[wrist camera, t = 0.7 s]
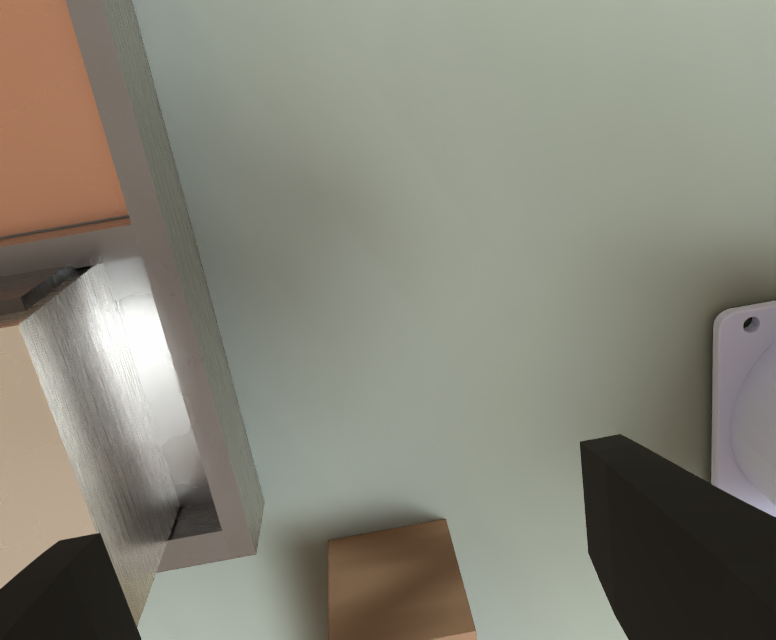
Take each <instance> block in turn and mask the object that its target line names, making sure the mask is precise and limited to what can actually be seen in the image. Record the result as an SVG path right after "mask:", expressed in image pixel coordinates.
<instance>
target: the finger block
mask: <svg viewBox="0 0 776 640" xmlns="http://www.w3.org/2000/svg"><path fill="white" fill-rule="evenodd" d="M328 574H329V640H477V635H476V629H475V626H474V622H473V618H472V614H471V611H470V607H469V603H468V600H467V596H466V592H465V588H464V585H463V581H462V577H461V574H460V570H459V566H458V562H457V559H456V555H455V551H454V548H453V544H452V540H451V536H450V533H449V529H448V525H447V521H446V519H442V520H437V521H431V522H426V523H420V524H415V525H409V526H404V527H398V528H393V529H387V530H382V531H376V532H370V533H365V534H359V535H354V536H348V537H343V538H337V539H332V540H328Z"/></svg>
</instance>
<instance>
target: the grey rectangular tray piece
mask: <svg viewBox="0 0 776 640" xmlns="http://www.w3.org/2000/svg"><path fill="white" fill-rule="evenodd" d="M263 509H264V500H263V496H262V492H261V488H260V484H259V481H258V477H257V473H256V469H255V466H254V462H253V458H252V454H251V450H250V447H249V443H248V439H247V435H246V431H245V428H244V424H243V420H242V416H241V413H240V409H239V405H238V401H237V397H236V394H235V390H234V386H233V382H232V379H231V375H230V371H229V367H228V363H227V360H226V356H225V352H224V348H223V345H222V341H221V337H220V333H219V329H218V326H217V322H216V318H215V314H214V310H213V307H212V303H211V299H210V295H209V292H208V288H207V284H206V280H205V276H204V273H203V269H202V265H201V261H200V258H199V254H198V250H197V246H196V242H195V239H194V235H193V231H192V227H191V223H190V220H189V216H188V212H187V208H186V205H185V201H184V197H183V193H182V189H181V186H180V182H179V178H178V174H177V171H176V167H175V163H174V159H173V155H172V152H171V148H170V144H169V140H168V136H167V133H166V129H165V125H164V121H163V118H162V114H161V110H160V106H159V102H158V99H157V95H156V91H155V87H154V84H153V80H152V76H151V72H150V68H149V65H148V61H147V57H146V53H145V49H144V46H143V42H142V38H141V34H140V31H139V27H138V23H137V19H136V15H135V12H134V8H133V4H132V0H0V589H1V588H2V587H3V586H4V585H5V584H7V583H8V582H9V581H10V580H11V579H12V578H13V577H15V576H16V575H17V574H18V573H19V572H20V571H22V570H23V569H24V568H25V567H26V566H27V565H29V564H30V563H31V562H32V561H33V560H35V559H36V558H37V557H38V556H40V555H41V554H42V553H43V552H45V551H46V550H47V549H49V548H50V547H51V546H53V545H54V544H55V543H57V542H58V541H59V540H64V539H70V538H75V537H80V536H85V535H91V534H96V533H101V536H102V538H103V541H104V544H105V546H106V549H107V551H108V554H109V557H110V559H111V562H112V564H113V567H114V569H115V572H116V575H117V577H118V580H119V582H120V585H121V588H122V590H123V593H124V595H125V598H126V601H127V603H128V606H129V608H130V611H131V614H132V616H133V619H134V621H135V624H136V627H137V626H138V623H139V620H140V617H141V614H142V612H143V609H144V606H145V603H146V600H147V598H148V595H149V592H150V589H151V586H152V583H153V581H154V578H155V575H156V573H157V572H163V571H168V570H174V569H179V568H185V567H190V566H195V565H201V564H206V563H212V562H217V561H223V560H228V559H234V558H239V557H244V556H250V555H255V554H256V553H257V547H258V540H259V534H260V528H261V521H262V515H263Z"/></svg>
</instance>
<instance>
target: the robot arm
mask: <svg viewBox="0 0 776 640" xmlns="http://www.w3.org/2000/svg"><path fill="white" fill-rule="evenodd" d="M750 317H752V322H751V324H750V325H749V326H748V327H746V328H743V325H744V322H745V321H746V320H747V319H748V318H750ZM580 450H581V463H582V476H583V489H584V502H585V514H586V527H587V540H588V553H589V556H590V558H591V560H592V563H593V565H594V568H595V570H596V572H597V575H598V577H599V580H600V582H601V584H602V587H603V589H604V591H605V594H606V596H607V598H608V600H609V603H610V605H611V607H612V610H613V612H614V614H615V616H616V618H617V620H618V621H619V623H620V625H621V627H622V629H623V630H624V632H625V634H626V636H627V637H628V639H629V640H776V300H775V301H770V302H764V303H758V304H753V305H747V306H742V307H736V308H730V309H727V310H725V311H723V312H721V313H720V314H719V315H718V316H717V318H716V319H715V321H714V326H713V386H712V460H711V484H710V483H708V482H706V481H705V480H703V479H701V478H699V477H697V476H695V475H694V474H692V473H690V472H688V471H686V470H685V469H683V468H681V467H679V466H678V465H676V464H674V463H672V462H670V461H669V460H667V459H665V458H663V457H661V456H660V455H658V454H656V453H654V452H653V451H651V450H649V449H647V448H645V447H644V446H642V445H640V444H638V443H636V442H634V441H633V440H631V439H629V438H627V437H625V436H623V435H621V434H619V435H613V436H608V437H603V438H598V439H592V440H587V441H582V442H580ZM0 640H141V637H140V634H139V632H138V629H137V627H136V624H135V621H134V619H133V616H132V614H131V611H130V608H129V606H128V603H127V601H126V598H125V595H124V593H123V590H122V588H121V585H120V582H119V580H118V577H117V575H116V572H115V569H114V567H113V564H112V562H111V559H110V557H109V554H108V551H107V549H106V546H105V544H104V541H103V538H102V536H101V533H96V534H91V535H85V536H80V537H75V538H70V539H64V540H59V541H58V542H57V543H55V544H54V545H53V546H51V547H50V548H49V549H47V550H46V551H45V552H43V553H42V554H41V555H40V556H38V557H37V558H36V559H35V560H33V561H32V562H31V563H30V564H29V565H27V566H26V567H25V568H24V569H23V570H22V571H20V572H19V573H18V574H17V575H16V576H15V577H13V578H12V579H11V580H10V581H9V582H8V583H7V584H5V585H4V586H3V587H2V588H1V589H0Z"/></svg>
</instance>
